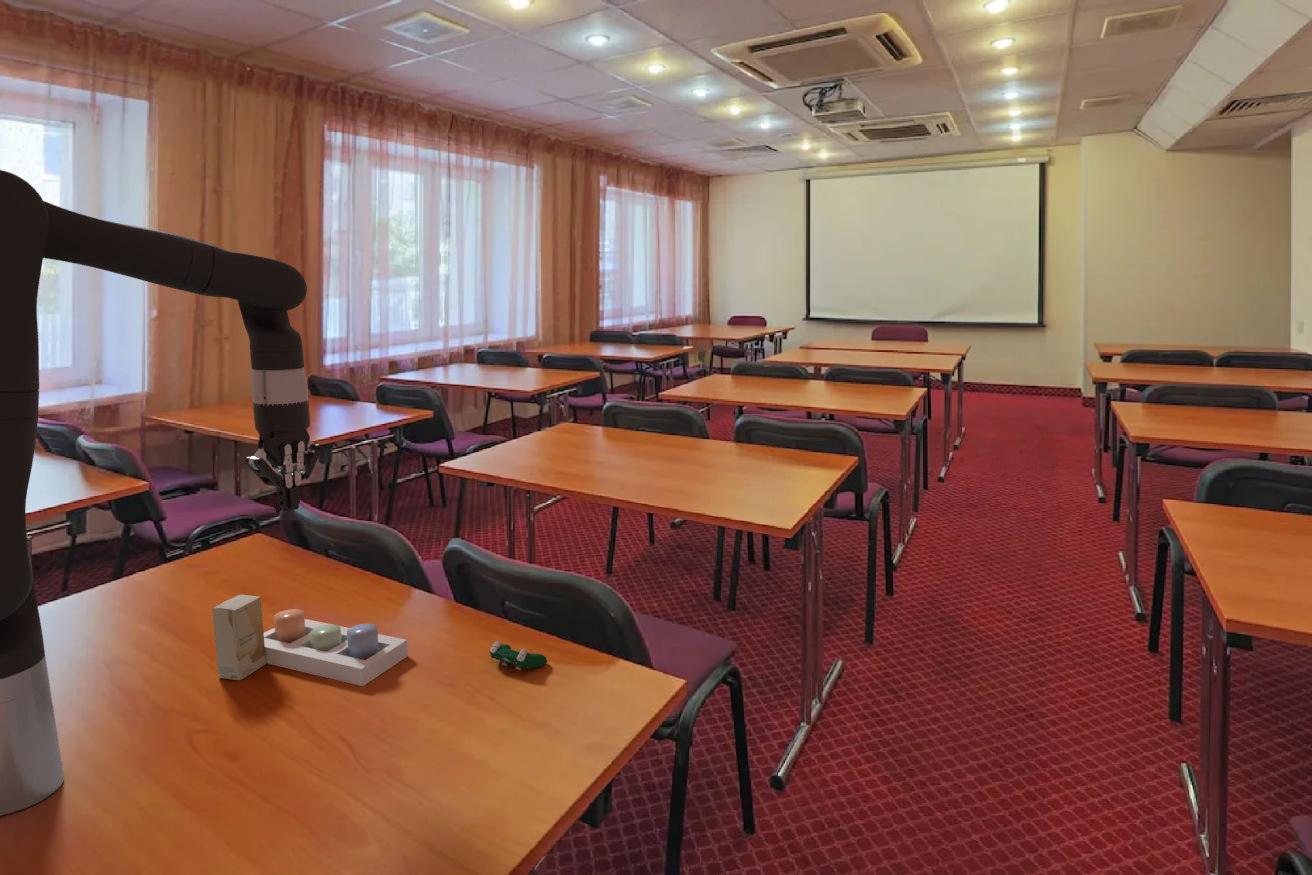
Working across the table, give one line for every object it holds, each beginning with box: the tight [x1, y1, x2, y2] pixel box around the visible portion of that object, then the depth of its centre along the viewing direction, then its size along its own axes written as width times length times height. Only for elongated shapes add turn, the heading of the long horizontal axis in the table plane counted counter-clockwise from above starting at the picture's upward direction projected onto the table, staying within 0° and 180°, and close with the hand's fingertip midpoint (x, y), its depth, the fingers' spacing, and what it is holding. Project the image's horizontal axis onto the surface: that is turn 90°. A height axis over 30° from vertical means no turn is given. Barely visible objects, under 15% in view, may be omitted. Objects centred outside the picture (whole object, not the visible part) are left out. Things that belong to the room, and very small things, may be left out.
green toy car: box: [489, 640, 548, 671], centre depth 127 cm, size 9×4×6 cm
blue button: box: [347, 623, 379, 660], centre depth 126 cm, size 5×5×4 cm
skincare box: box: [212, 594, 267, 681], centre depth 123 cm, size 6×4×12 cm
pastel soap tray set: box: [263, 618, 409, 687], centre depth 129 cm, size 11×25×3 cm, turn 69°
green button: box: [310, 623, 342, 652], centre depth 129 cm, size 5×5×4 cm
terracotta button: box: [273, 608, 306, 643], centre depth 131 cm, size 5×5×4 cm
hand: (290, 509), depth 115 cm, fingers closed
